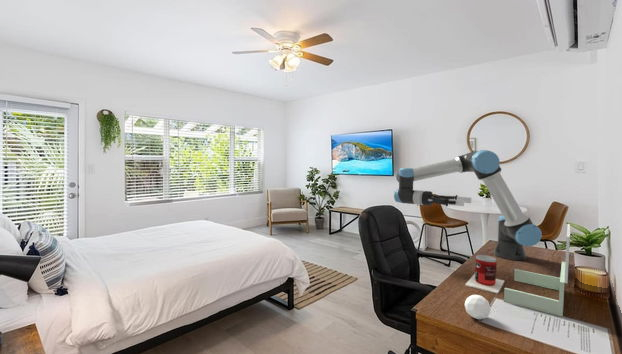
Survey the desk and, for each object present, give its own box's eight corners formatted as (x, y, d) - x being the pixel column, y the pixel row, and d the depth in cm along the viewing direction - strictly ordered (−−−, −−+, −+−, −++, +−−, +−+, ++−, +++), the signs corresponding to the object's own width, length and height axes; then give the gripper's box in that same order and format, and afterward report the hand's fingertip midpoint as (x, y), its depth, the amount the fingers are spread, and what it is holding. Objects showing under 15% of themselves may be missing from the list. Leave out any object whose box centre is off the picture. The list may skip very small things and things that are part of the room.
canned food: (477, 277, 137) (478, 253, 136) (497, 282, 131) (498, 257, 130) (472, 282, 131) (473, 257, 131) (493, 287, 126) (494, 261, 125)
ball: (473, 327, 102) (461, 310, 101) (470, 308, 109) (459, 292, 107) (497, 322, 98) (484, 304, 97) (492, 303, 105) (480, 286, 104)
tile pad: (474, 275, 141) (474, 273, 141) (504, 281, 133) (504, 280, 133) (465, 285, 129) (465, 284, 129) (497, 293, 121) (497, 292, 121)
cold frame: (514, 279, 136) (517, 218, 134) (566, 291, 124) (570, 224, 123) (504, 301, 115) (506, 229, 113) (565, 317, 103) (569, 237, 101)
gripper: (431, 202, 168) (473, 206, 154) (413, 207, 149) (460, 212, 135) (431, 189, 168) (474, 192, 154) (414, 192, 149) (460, 196, 135)
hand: (467, 201), depth 145 cm, fingers open, 13 cm apart
